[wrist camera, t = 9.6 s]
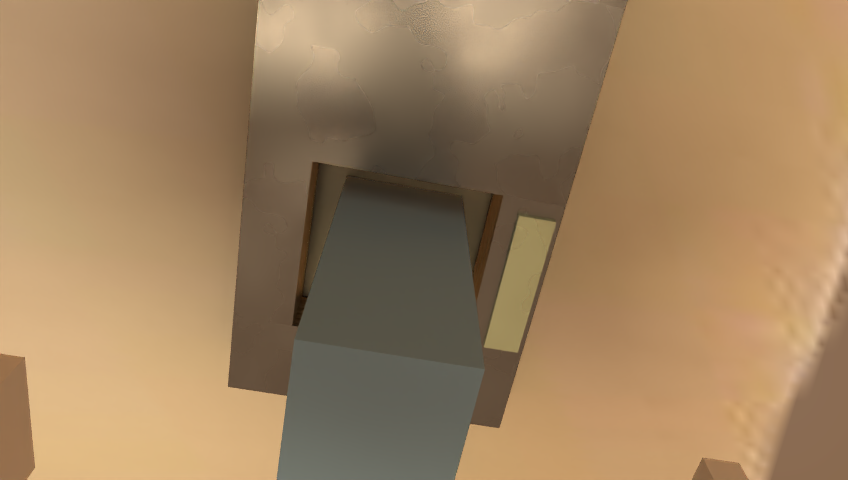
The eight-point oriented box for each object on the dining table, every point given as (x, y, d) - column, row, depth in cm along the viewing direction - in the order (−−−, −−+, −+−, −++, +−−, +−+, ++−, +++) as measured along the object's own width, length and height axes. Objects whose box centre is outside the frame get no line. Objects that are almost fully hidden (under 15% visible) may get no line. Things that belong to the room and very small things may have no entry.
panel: (314, -475, 16) (298, -533, 14) (715, -375, 17) (755, -417, 15) (241, 354, 26) (226, 390, 24) (494, 393, 27) (499, 431, 25)
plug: (347, 175, 23) (294, 339, 14) (461, 195, 23) (484, 369, 14) (329, 296, 25) (272, 508, 16) (435, 313, 25) (440, 531, 16)
